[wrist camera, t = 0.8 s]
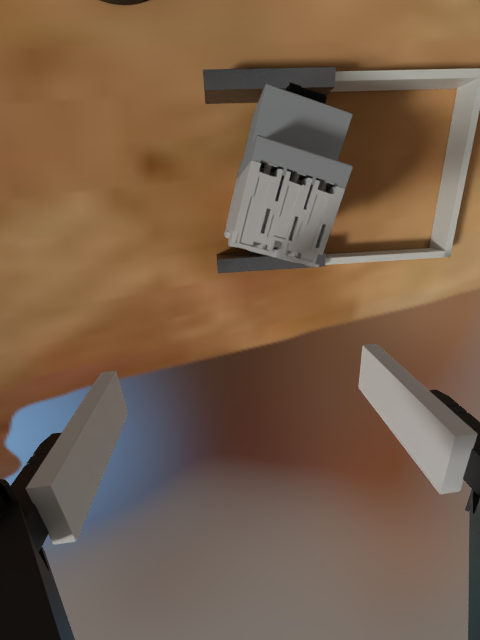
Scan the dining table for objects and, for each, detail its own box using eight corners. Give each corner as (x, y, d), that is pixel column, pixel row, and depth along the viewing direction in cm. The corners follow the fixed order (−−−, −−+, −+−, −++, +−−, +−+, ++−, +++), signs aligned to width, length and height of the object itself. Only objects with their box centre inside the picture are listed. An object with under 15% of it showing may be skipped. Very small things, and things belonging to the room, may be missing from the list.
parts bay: (321, 83, 33) (331, 71, 30) (465, 79, 34) (488, 68, 31) (314, 261, 40) (322, 264, 37) (433, 253, 41) (450, 256, 38)
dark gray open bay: (204, 86, 32) (203, 69, 28) (321, 83, 33) (335, 67, 29) (217, 267, 39) (218, 273, 35) (314, 261, 40) (324, 266, 36)
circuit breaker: (315, 126, 34) (386, 68, 20) (279, 248, 39) (317, 270, 25) (253, 105, 33) (283, 28, 19) (224, 234, 37) (230, 248, 23)
